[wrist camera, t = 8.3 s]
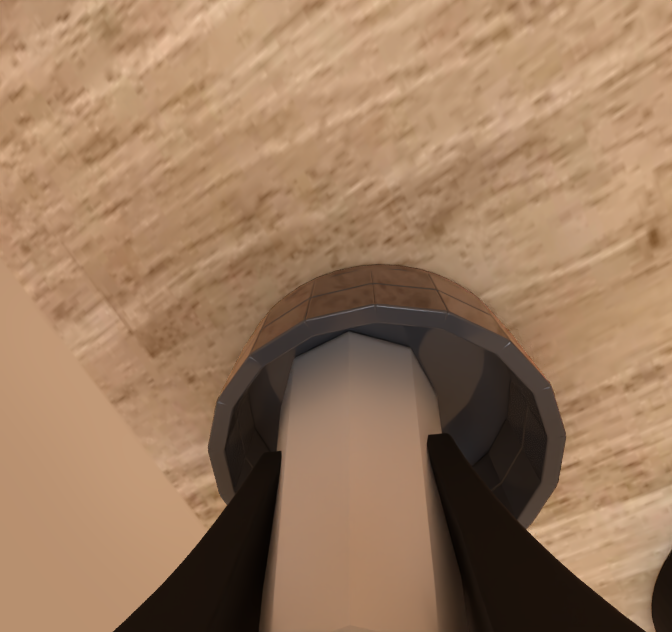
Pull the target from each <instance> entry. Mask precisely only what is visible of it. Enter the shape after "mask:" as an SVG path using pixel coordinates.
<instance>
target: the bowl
mask: <svg viewBox="0 0 672 632" xmlns="http://www.w3.org/2000/svg"><path fill="white" fill-rule="evenodd" d="M348 331H350V332H354V333H358V334H361V335H365V336H369V337H373V338H377V339H380V340H384V341H388V342H392V343H395V344H399V345H403V346H407V347H410V348H411V350H412V351H413V353H414V355H415V357H416V359H417V360H418V362H419V364H420V366H421V368H422V369H423V371H424V373H425V375H426V377H427V378H428V380H429V382H430V384H431V386H432V387H433V389H434V391H435V393H436V394H437V401H438V408H439V416H440V423H441V430H442V433H448V434H450V435H451V436H452V438H453V439H454V441H455V443H456V444H457V446H458V448H459V449H460V451H461V452H462V454H463V455H464V456H465V458H466V459H467V461H468V462H469V463H470V465H471V466H472V467H473V469H474V470H475V471H476V473H477V474H478V475H479V477H480V478H481V479H482V480H483V482H484V483H485V484H486V485H487V486H488V488H489V489H490V490H491V491H492V492H493V494H494V495H495V496H496V497H497V498H498V500H499V501H500V502H501V503H502V504H503V505H504V506H505V508H506V509H507V510H508V511H509V512H510V513H511V514H512V515H513V516H514V517H515V518H516V519H517V521H518V522H519V523H520V524H521V525H522V526H523V527H524V528H525V529H527V528H528V527H529V526H530V525H531V524H532V523H533V521H534V520H535V518H536V517H537V515H538V514H539V512H540V511H541V509H542V508H543V506H544V505H545V503H546V502H547V500H548V499H549V497H550V496H551V494H552V493H553V491H554V490H555V488H556V487H557V484H558V481H559V475H560V469H561V464H562V458H563V452H564V446H565V441H566V432H565V429H564V425H563V422H562V419H561V415H560V412H559V409H558V406H557V402H556V399H555V396H554V392H553V389H552V386H551V384H550V382H549V381H548V380H547V378H546V377H545V376H544V375H543V373H542V372H541V371H540V369H539V368H538V367H537V366H536V364H535V363H534V362H533V361H532V359H531V358H530V357H529V356H528V354H527V353H526V352H525V350H524V349H523V348H522V346H521V345H520V344H519V343H518V341H517V340H516V339H515V338H514V336H513V335H512V334H511V332H510V331H509V330H508V329H507V328H506V327H505V326H504V325H503V324H502V323H501V322H500V320H499V319H498V318H497V317H496V316H495V315H494V314H493V312H492V311H491V310H490V309H489V308H488V307H487V305H485V304H484V303H483V302H482V301H481V300H480V299H479V298H478V297H477V296H475V295H474V294H473V293H471V292H470V291H468V290H466V289H465V288H463V287H462V286H460V285H458V284H457V283H455V282H453V281H451V280H449V279H446V278H444V277H442V276H440V275H437V274H434V273H431V272H427V271H424V270H421V269H417V268H411V267H405V266H399V265H367V266H356V267H351V268H347V269H342V270H338V271H334V272H331V273H329V274H326V275H323V276H320V277H317V278H315V279H313V280H311V281H309V282H307V283H305V284H304V285H302V286H300V287H298V288H297V289H295V290H294V291H292V292H291V293H289V294H288V295H287V296H285V297H284V298H283V299H282V300H280V301H279V302H278V303H277V304H276V305H275V306H274V307H273V308H272V309H271V310H270V311H269V312H268V313H267V314H266V316H265V317H264V318H263V319H262V321H261V322H260V323H259V325H258V326H257V328H256V330H255V331H254V333H253V335H252V336H251V338H250V339H249V341H248V342H247V343H246V345H245V346H244V348H243V350H242V351H241V353H240V355H239V357H238V359H237V361H236V363H235V365H234V367H233V369H232V371H231V373H230V375H229V377H228V379H227V381H226V383H225V385H224V387H223V389H222V391H221V393H220V395H219V397H218V399H217V401H216V406H215V411H214V417H213V422H212V427H211V433H210V438H209V443H208V453H209V457H210V460H211V464H212V468H213V472H214V476H215V480H216V483H217V487H218V491H219V494H220V496H221V498H222V499H223V500H224V502H225V503H226V504H227V505H228V504H229V502H230V501H231V499H232V498H233V497H234V495H235V494H236V492H237V491H238V490H239V488H240V487H241V485H242V484H243V482H244V481H245V479H246V478H247V476H248V475H249V473H250V472H251V470H252V469H253V468H254V466H255V465H256V463H257V462H258V460H259V459H260V457H261V456H262V455H263V453H264V452H274V451H277V441H278V431H279V421H280V411H281V405H282V401H283V397H284V394H285V390H286V386H287V383H288V379H289V375H290V371H291V368H292V364H293V360H294V358H295V357H297V356H299V355H301V354H303V353H305V352H307V351H309V350H311V349H313V348H315V347H318V346H320V345H322V344H324V343H326V342H328V341H330V340H332V339H334V338H336V337H338V336H340V335H342V334H344V333H346V332H348Z"/></svg>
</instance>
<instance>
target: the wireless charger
mask: <svg viewBox="0 0 672 632" xmlns="http://www.w3.org/2000/svg"><path fill="white" fill-rule="evenodd" d="M652 616H653V622H654V626H655V629H656V632H672V553H671V554H670V556H669V557H668V559H667V561H666V562H665V564H664V566H663V568H662V570H661V572H660V574H659V577H658V579H657V582H656V585H655V589H654V593H653V600H652Z"/></svg>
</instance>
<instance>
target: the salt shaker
mask: <svg viewBox="0 0 672 632" xmlns="http://www.w3.org/2000/svg"><path fill="white" fill-rule="evenodd" d="M440 433H442V430H441V423H440V416H439V408H438V401H437V394H436V393H435V391H434V389H433V387H432V386H431V384H430V382H429V380H428V378H427V377H426V375H425V373H424V371H423V369H422V368H421V366H420V364H419V362H418V360H417V359H416V357H415V355H414V353H413V351H412V350H411V348H410V347H407V346H403V345H399V344H395V343H392V342H388V341H384V340H380V339H377V338H373V337H369V336H365V335H361V334H358V333H354V332H350V331H348V332H346V333H344V334H342V335H340V336H338V337H336V338H334V339H332V340H330V341H328V342H326V343H324V344H322V345H320V346H318V347H315V348H313V349H311V350H309V351H307V352H305V353H303V354H301V355H299V356H297V357H295V358H294V360H293V364H292V368H291V371H290V375H289V379H288V383H287V386H286V390H285V394H284V397H283V401H282V405H281V411H280V421H279V431H278V441H277V451H281V452H282V459H281V468H280V476H279V483H278V490H277V497H276V504H275V510H274V517H273V524H272V531H271V538H270V545H269V551H268V558H267V565H266V571H265V578H264V585H263V593H262V603H261V613H260V623H259V632H469V631H468V623H467V616H466V608H465V601H464V594H463V586H462V579H461V574H460V570H459V566H458V563H457V559H456V555H455V552H454V548H453V544H452V541H451V537H450V533H449V529H448V526H447V522H446V518H445V515H444V511H443V507H442V503H441V500H440V496H439V492H438V488H437V485H436V481H435V477H434V473H433V470H432V466H431V462H430V457H429V452H428V447H427V439H428V435H431V434H440Z"/></svg>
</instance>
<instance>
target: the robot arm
mask: <svg viewBox="0 0 672 632" xmlns="http://www.w3.org/2000/svg"><path fill="white" fill-rule="evenodd" d="M427 447H428V452H429V457H430V462H431V466H432V470H433V473H434V477H435V481H436V485H437V488H438V492H439V496H440V500H441V503H442V507H443V511H444V515H445V518H446V522H447V526H448V529H449V533H450V537H451V541H452V544H453V548H454V552H455V555H456V559H457V563H458V566H459V570H460V574H461V579H462V586H463V594H464V601H465V608H466V616H467V623H468V631H469V632H646V631H644V630H643V629H642V628H640V627H639V626H638V625H636V624H635V623H634V622H632V621H631V620H630V619H628V618H627V617H626V616H624V615H623V614H622V613H620V612H619V611H618V610H617V609H615V608H614V607H613V606H612V605H611V604H609V603H608V602H607V601H606V600H604V599H603V598H602V597H601V596H600V595H598V594H597V593H596V592H595V591H593V590H592V589H591V588H590V587H589V586H587V585H586V584H585V583H584V582H582V581H581V580H580V579H579V578H577V577H576V576H575V575H574V574H573V573H572V572H571V571H570V570H568V569H567V568H566V567H565V566H564V565H563V564H562V563H561V562H559V561H558V560H557V559H556V558H555V557H554V556H553V555H552V554H551V553H550V552H549V551H548V550H547V549H545V548H544V547H543V546H542V545H541V544H540V543H539V542H538V541H537V540H536V539H535V538H534V537H533V536H532V535H531V534H530V533H529V532H528V531H527V530H526V529H525V528H524V527H523V526H522V525H521V524H520V523H519V522H518V521H517V519H516V518H515V517H514V516H513V515H512V514H511V513H510V512H509V511H508V510H507V509H506V508H505V506H504V505H503V504H502V503H501V502H500V501H499V500H498V498H497V497H496V496H495V495H494V494H493V492H492V491H491V490H490V489H489V488H488V486H487V485H486V484H485V483H484V482H483V480H482V479H481V478H480V477H479V475H478V474H477V473H476V471H475V470H474V469H473V467H472V466H471V465H470V463H469V462H468V461H467V459H466V458H465V456H464V455H463V454H462V452H461V451H460V449H459V448H458V446H457V444H456V443H455V441H454V439H453V438H452V436H451V435H450V434H448V433H440V434H431V435H428V439H427ZM281 459H282V452H281V451H274V452H264V453H263V455H262V456H261V457H260V459H259V460H258V462H257V463H256V465H255V466H254V468H253V469H252V470H251V472H250V473H249V475H248V476H247V478H246V479H245V481H244V482H243V484H242V485H241V487H240V488H239V490H238V491H237V492H236V494H235V495H234V497H233V498H232V499H231V501H230V502H229V504H228V505H227V506H226V508H225V509H224V511H223V512H222V513H221V515H220V516H219V517H218V519H217V520H216V521H215V523H214V524H213V525H212V526H211V528H210V529H209V530H208V531H207V533H206V534H205V535H204V537H203V538H202V539H201V540H200V542H199V543H198V544H197V545H196V547H195V548H194V549H193V550H192V551H191V553H190V554H189V555H188V556H187V557H186V558H185V560H184V561H183V562H182V563H181V564H180V565H179V566H178V567H177V569H176V570H175V571H174V572H173V573H172V574H171V575H170V576H169V577H168V578H167V580H166V581H165V582H164V583H163V584H162V585H161V586H160V587H159V588H158V589H157V590H156V591H155V592H154V593H153V594H152V595H151V596H150V597H149V598H148V599H147V600H146V601H145V602H144V603H143V604H142V605H141V606H140V607H139V608H138V609H136V611H134V612H133V613H132V614H131V616H129V617H128V618H127V619H126V620H125V621H124V622H123V623H122V624H121V625H120V626H119V627H118V628H116V629H115V630H114V631H113V632H259V623H260V613H261V603H262V593H263V585H264V578H265V571H266V565H267V558H268V551H269V545H270V538H271V531H272V524H273V517H274V510H275V504H276V497H277V490H278V483H279V476H280V468H281Z"/></svg>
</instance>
